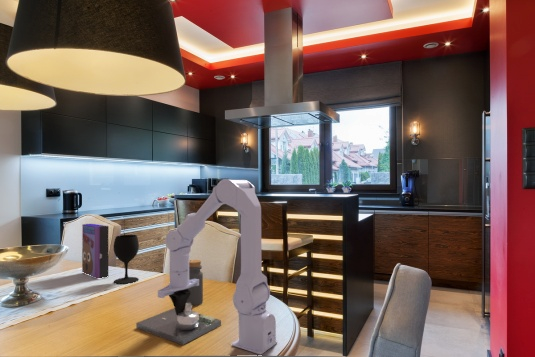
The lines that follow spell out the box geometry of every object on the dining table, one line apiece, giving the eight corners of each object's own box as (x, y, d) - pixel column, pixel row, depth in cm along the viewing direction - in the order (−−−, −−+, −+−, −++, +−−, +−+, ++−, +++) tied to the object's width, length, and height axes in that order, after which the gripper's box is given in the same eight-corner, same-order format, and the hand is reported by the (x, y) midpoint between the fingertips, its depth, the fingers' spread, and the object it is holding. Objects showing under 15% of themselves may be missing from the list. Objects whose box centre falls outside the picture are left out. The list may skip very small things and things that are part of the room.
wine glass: (136, 276, 157) (136, 233, 157) (140, 281, 148) (140, 236, 148) (112, 280, 151) (112, 235, 152) (115, 285, 143) (115, 238, 143)
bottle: (195, 299, 124) (195, 258, 125) (206, 302, 121) (206, 260, 121) (182, 303, 120) (182, 261, 120) (193, 307, 116) (192, 263, 117)
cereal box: (82, 273, 164) (82, 224, 165) (92, 271, 168) (92, 223, 168) (97, 279, 153) (97, 226, 153) (108, 277, 156) (108, 225, 157)
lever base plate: (221, 325, 101) (221, 316, 101) (182, 345, 88) (182, 335, 88) (175, 311, 112) (175, 304, 112) (136, 328, 99) (136, 319, 99)
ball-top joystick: (198, 328, 94) (198, 315, 94) (176, 330, 93) (176, 317, 93) (198, 312, 106) (198, 301, 107) (178, 314, 105) (178, 302, 105)
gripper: (188, 263, 110) (188, 305, 109) (150, 273, 98) (150, 320, 97) (203, 266, 106) (204, 309, 105) (167, 276, 94) (167, 325, 93)
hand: (179, 315), depth 101 cm, fingers closed
